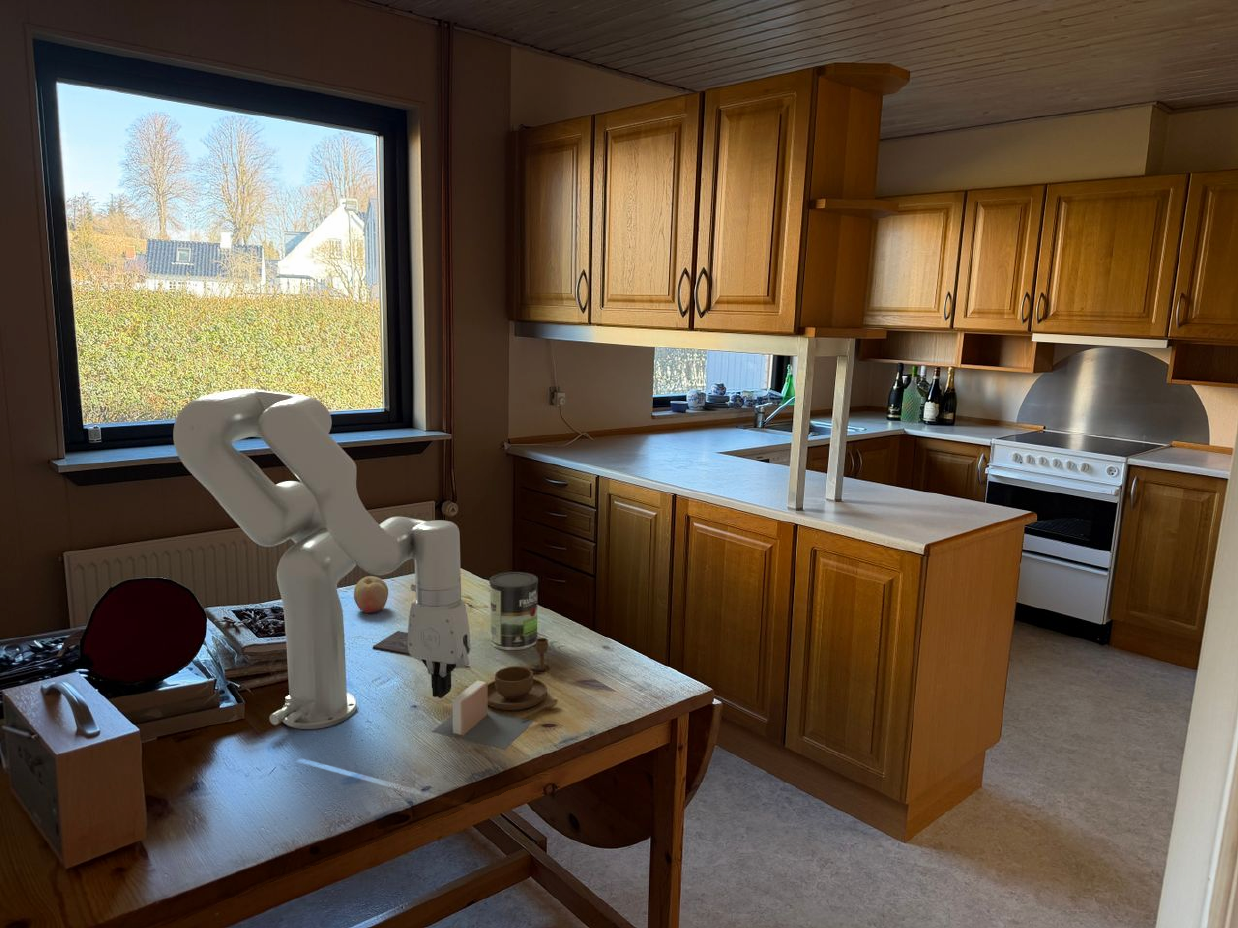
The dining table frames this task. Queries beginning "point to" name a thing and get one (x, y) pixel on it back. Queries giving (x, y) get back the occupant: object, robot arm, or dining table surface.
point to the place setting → (520, 686)
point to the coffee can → (513, 610)
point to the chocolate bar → (394, 643)
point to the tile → (470, 707)
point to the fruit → (371, 594)
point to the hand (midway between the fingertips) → (441, 693)
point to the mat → (489, 730)
